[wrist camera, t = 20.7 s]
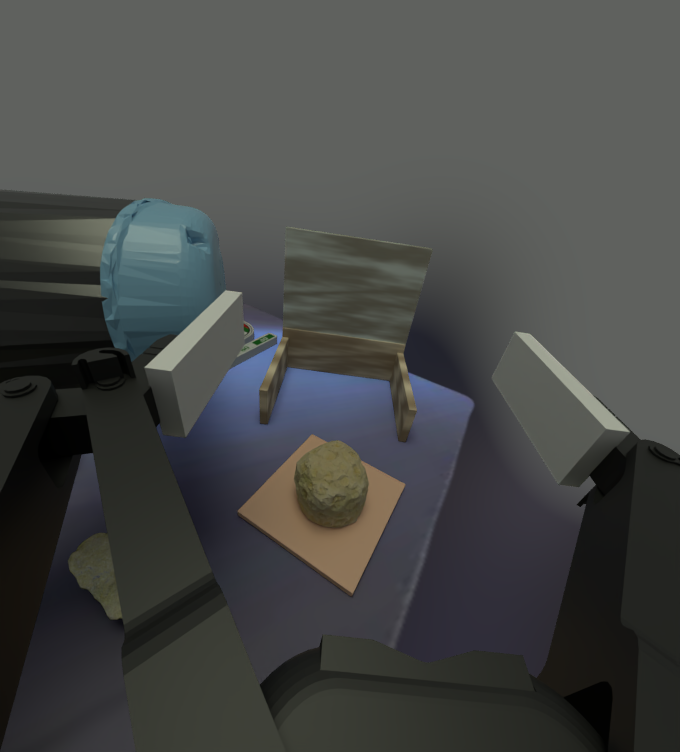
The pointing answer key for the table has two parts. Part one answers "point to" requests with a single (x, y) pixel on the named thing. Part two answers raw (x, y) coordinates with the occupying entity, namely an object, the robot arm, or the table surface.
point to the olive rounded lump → (331, 485)
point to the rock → (97, 572)
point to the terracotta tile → (313, 541)
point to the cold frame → (348, 313)
